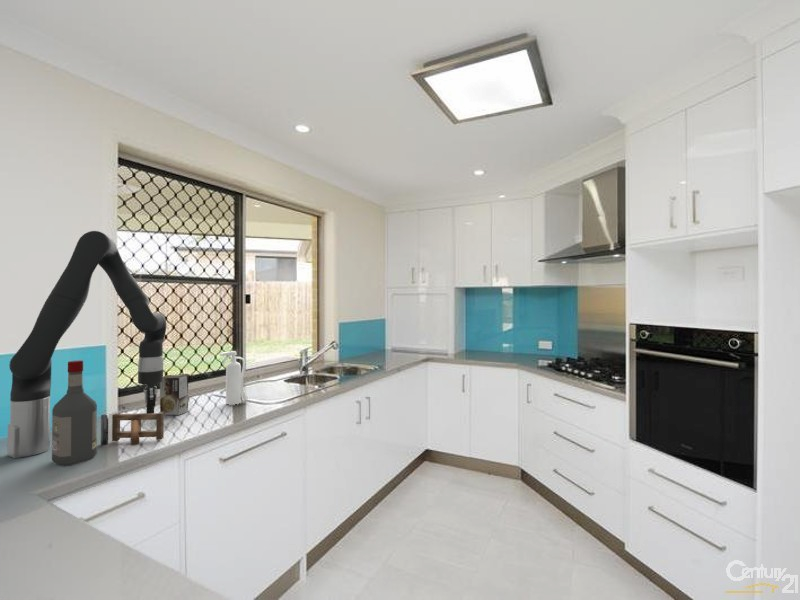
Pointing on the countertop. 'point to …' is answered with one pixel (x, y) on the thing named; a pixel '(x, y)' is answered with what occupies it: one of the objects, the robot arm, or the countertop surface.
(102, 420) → the hinge post
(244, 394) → the fire extinguisher
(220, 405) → the countertop surface
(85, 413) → the liquor
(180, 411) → the coffee box
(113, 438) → the gate
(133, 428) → the post
